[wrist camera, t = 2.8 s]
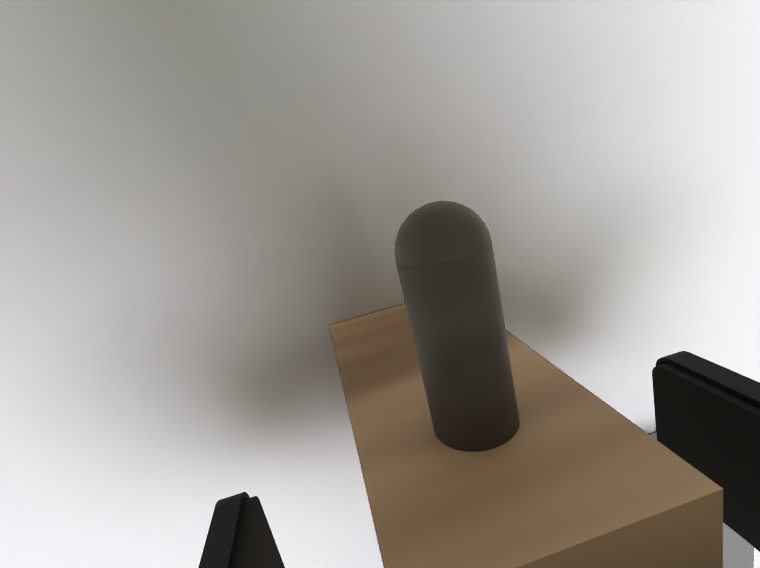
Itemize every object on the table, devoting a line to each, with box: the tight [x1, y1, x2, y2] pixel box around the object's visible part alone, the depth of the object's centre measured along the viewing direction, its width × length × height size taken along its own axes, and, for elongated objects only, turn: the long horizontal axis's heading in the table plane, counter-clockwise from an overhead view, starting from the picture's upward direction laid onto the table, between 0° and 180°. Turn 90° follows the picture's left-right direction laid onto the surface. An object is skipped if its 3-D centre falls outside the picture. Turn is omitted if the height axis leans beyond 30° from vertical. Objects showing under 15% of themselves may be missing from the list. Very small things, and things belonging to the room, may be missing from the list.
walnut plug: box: [329, 201, 723, 568], centre depth 9 cm, size 9×4×9 cm, turn 13°
